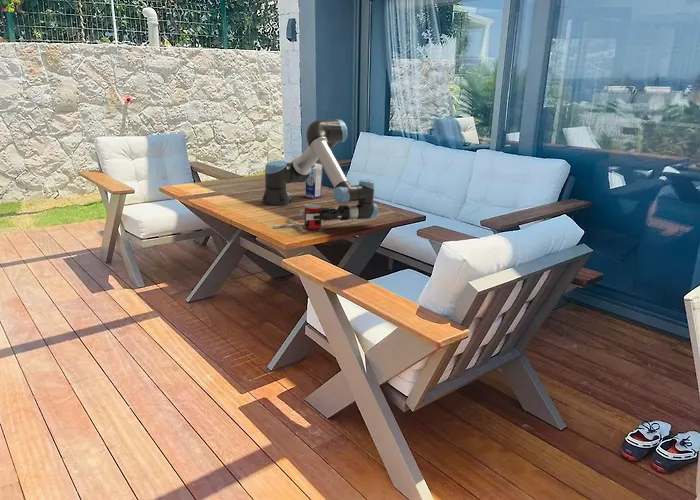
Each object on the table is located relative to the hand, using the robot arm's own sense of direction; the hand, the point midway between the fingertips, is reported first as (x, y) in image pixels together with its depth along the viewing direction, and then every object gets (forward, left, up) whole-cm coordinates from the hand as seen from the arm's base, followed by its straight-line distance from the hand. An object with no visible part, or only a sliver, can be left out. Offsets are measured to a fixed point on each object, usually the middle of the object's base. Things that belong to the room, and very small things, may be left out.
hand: (303, 215), depth 258 cm
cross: (-5, +5, -7) cm, 10 cm away
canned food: (+4, +2, -7) cm, 8 cm away
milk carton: (-8, +72, -8) cm, 73 cm away
